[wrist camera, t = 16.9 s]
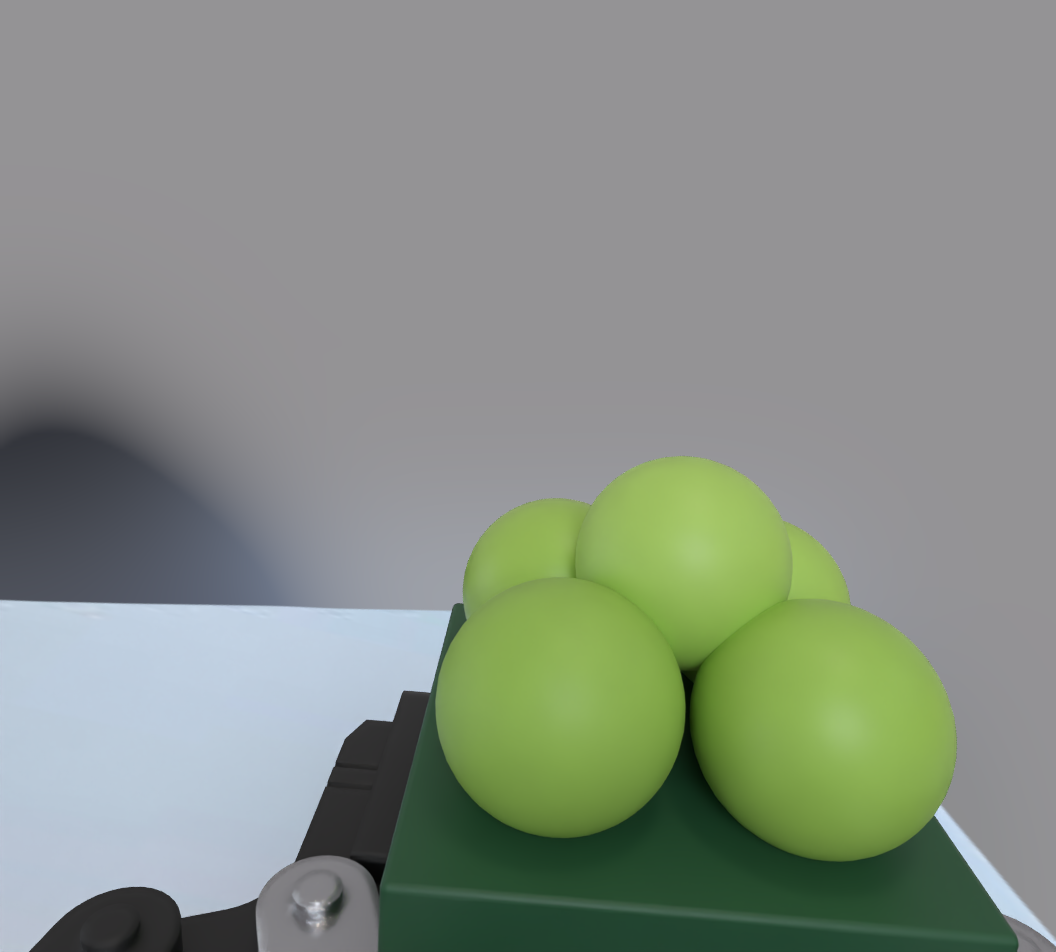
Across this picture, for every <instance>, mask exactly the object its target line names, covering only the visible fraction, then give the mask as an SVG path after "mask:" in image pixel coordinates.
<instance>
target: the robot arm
mask: <svg viewBox="0 0 1056 952" xmlns="http://www.w3.org/2000/svg"><path fill="white" fill-rule="evenodd" d="M429 697H430V693H427V692H415V691H403V693H402V695H401V698H400V702H399V705H398V708H397V711H396V714H395V717H394V720H393V722H388V721H376V720H366V721H365V722H363V723H362V724H361V725H360V726H359V727H358V728H357V729H356V730H354V731H353V732H352V733H351V734H350V735H349V736H348V737H347V738H346V739H345V741H344V743H343V745H342V748H341V750H340V753H339V755H338V758H337V760H336V764H335V767H333V770H332V772H331V775H330V777H329V780H328V784H327V787H325V790H324V792H323V794H322V797H321V799H320V802H319V804H318V807H317V809H316V812H315V814H314V816H313V819H312V821H311V824H310V826H309V829H308V831H307V834H306V836H305V838H304V841H303V843H302V846H301V848H300V851H299V853H298V856H297V858H296V860H295V862H294V863H292V864H290V865H289V866H287V867H285V868H283V869H282V870H281V871H279V872H278V873H277V874H275V875H274V876H273V877H272V878H271V879H270V880H269V881H268V882H267V884H266V885H265V887H264V888H263V889H262V891H261V893H260V895H259V898H257V899H255V900H253V901H251V902H249V903H246V904H243V905H241V906H238V907H234V908H230V909H226V910H221V911H216V912H211V913H206V914H200V915H195V916H190V917H185V918H181V914H180V911H179V908H178V906H177V904H176V903H175V901H174V900H173V899H172V898H171V897H170V896H169V895H167V894H165V893H164V892H162V891H159V890H156V889H153V888H146V887H128V888H120V889H116V890H112V891H108V892H105V893H103V894H100V895H97V896H95V897H93V898H91V899H89V900H87V901H85V902H83V903H81V904H80V905H78V906H76V907H75V908H74V909H72V910H71V911H70V912H68V913H67V914H66V915H64V916H63V917H62V918H61V919H60V920H59V921H58V922H57V923H56V924H55V925H54V926H53V927H52V928H51V929H50V930H49V931H48V932H47V933H46V934H45V935H44V937H43V938H42V939H41V940H40V941H39V942H38V943H37V944H36V945H35V946H34V947H33V948H32V949H31V950H30V951H29V952H378V925H379V895H380V884H381V880H382V876H383V873H384V869H385V865H386V861H387V857H388V853H389V850H390V846H391V842H392V838H393V834H394V831H395V827H396V823H397V819H398V815H399V811H400V808H401V804H402V800H403V796H404V792H405V789H406V785H407V781H408V777H409V773H410V769H411V766H412V762H413V758H414V754H415V750H416V747H417V743H418V739H419V735H420V731H421V727H422V724H423V720H424V716H425V712H426V708H427V704H428V701H429ZM1002 915H1003V914H1002ZM1003 916H1004V918H1005V919H1006V921H1007V922H1008V924H1009V925H1010V927H1011V928H1012V929H1013V931H1014V932H1015V934H1016V935H1017V938H1018V943H1019V947H1018V950H1017V952H1056V946H1054V945H1053V944H1052V943H1051V942H1050V941H1049V940H1048V939H1046V938H1045V937H1044V936H1042V935H1041V934H1040V933H1038V932H1037V931H1035V930H1033V929H1032V928H1030V927H1029V926H1027V925H1025V924H1023V923H1021V922H1019V921H1017V920H1015V919H1013V918H1011V917H1008V916H1006V915H1003Z"/></svg>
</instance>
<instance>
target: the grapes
mask: <svg viewBox="0 0 1056 952" xmlns="http://www.w3.org/2000/svg"><path fill="white" fill-rule="evenodd" d="M956 749H957V737H956V727H955V720H954V716H953V712H952V709H951V705H950V702H949V699H948V696H947V693H946V691H945V689H944V687H943V685H942V682H941V680H940V679H939V677H938V675H937V673H936V672H935V670H934V669H933V667H932V666H931V664H930V663H929V661H928V660H927V658H926V657H925V656H924V655H923V654H922V652H921V651H920V650H919V649H918V648H917V647H916V646H915V645H914V644H913V643H912V642H911V641H910V640H909V639H908V638H907V637H906V636H905V635H903V634H902V633H901V632H900V631H898V630H897V629H896V628H895V627H893V626H892V625H891V624H889V623H887V622H886V621H884V620H883V619H881V618H879V617H877V616H875V615H873V614H871V613H869V612H867V611H865V610H863V609H860V608H858V607H855V606H852V605H851V604H850V598H849V592H848V589H847V586H846V582H845V580H844V577H843V575H842V573H841V571H840V569H839V567H838V565H837V564H836V563H835V561H834V559H833V558H832V557H831V555H830V554H829V553H828V551H827V550H826V549H825V548H824V547H823V546H822V545H821V544H820V543H819V542H818V541H817V540H815V539H814V538H813V537H812V536H810V535H809V534H808V533H806V532H805V531H803V530H801V529H800V528H798V527H796V526H794V525H792V524H790V523H787V522H785V521H783V520H782V519H781V516H780V514H779V513H778V511H777V509H776V508H775V506H774V505H773V504H772V502H771V501H770V499H769V498H768V497H767V496H766V495H765V493H763V491H762V490H761V489H760V488H759V487H758V486H757V485H756V484H754V483H753V482H752V481H751V480H749V479H748V478H747V477H746V476H744V475H742V474H741V473H739V472H737V471H736V470H734V469H732V468H730V467H728V466H726V465H723V464H720V463H718V462H715V461H712V460H708V459H704V458H698V457H688V456H678V457H665V458H660V459H656V460H652V461H648V462H645V463H643V464H641V465H638V466H636V467H633V468H632V469H630V470H628V471H626V472H625V473H623V474H622V475H620V476H618V477H617V478H616V479H615V480H614V481H612V482H611V483H610V484H609V485H608V486H607V487H606V488H605V489H604V490H603V491H602V492H601V493H600V494H599V495H598V497H597V498H596V499H595V501H594V502H593V504H592V505H590V504H587V503H584V502H580V501H575V500H571V499H561V498H553V499H541V500H537V501H533V502H529V503H526V504H523V505H521V506H518V507H516V508H514V509H512V510H510V511H509V512H507V513H506V514H504V515H503V516H501V517H500V518H499V519H497V520H496V521H495V522H494V523H493V524H492V525H491V526H490V527H489V528H488V529H487V530H486V531H485V533H484V534H483V535H482V536H481V538H480V539H479V541H478V542H477V544H476V545H475V547H474V549H473V551H472V554H471V556H470V558H469V560H468V563H467V567H466V571H465V576H464V584H463V604H460V603H458V604H455V605H454V607H453V609H452V613H451V617H450V620H449V624H448V628H447V632H446V636H445V640H444V643H443V647H442V651H441V655H440V659H439V662H438V666H437V670H436V674H435V678H434V682H433V685H432V689H431V693H430V697H429V701H428V704H427V708H426V712H425V716H424V720H423V724H422V727H421V731H420V735H419V739H418V743H417V747H416V750H415V754H414V758H413V762H412V766H411V769H410V773H409V777H408V781H407V785H406V789H405V792H404V796H403V800H402V804H401V808H400V811H399V815H398V819H397V823H396V827H395V831H394V834H393V838H392V842H391V846H390V850H389V853H388V857H387V861H386V865H385V869H384V873H383V876H382V880H381V884H380V895H379V925H378V952H1017V950H1018V947H1019V943H1018V938H1017V935H1016V934H1015V932H1014V931H1013V929H1012V928H1011V927H1010V925H1009V924H1008V922H1007V921H1006V919H1005V918H1004V916H1003V915H1002V913H1001V912H1000V911H999V909H998V908H997V906H996V905H995V903H994V902H993V900H992V899H991V897H990V896H989V894H988V893H987V892H986V890H985V889H984V887H983V886H982V884H981V883H980V881H979V880H978V878H977V877H976V876H975V874H974V873H973V871H972V870H971V868H970V867H969V865H968V864H967V862H966V861H965V859H964V858H963V857H962V855H961V854H960V852H959V851H958V849H957V848H956V846H955V845H954V843H953V842H952V841H951V839H950V838H949V836H948V835H947V833H946V832H945V830H944V829H943V827H942V826H941V824H940V823H939V822H938V820H937V819H936V817H935V816H934V814H935V813H936V811H937V809H938V808H939V806H940V805H941V803H942V801H943V800H944V798H945V796H946V794H947V791H948V788H949V786H950V783H951V780H952V776H953V772H954V767H955V762H956Z"/></svg>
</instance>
